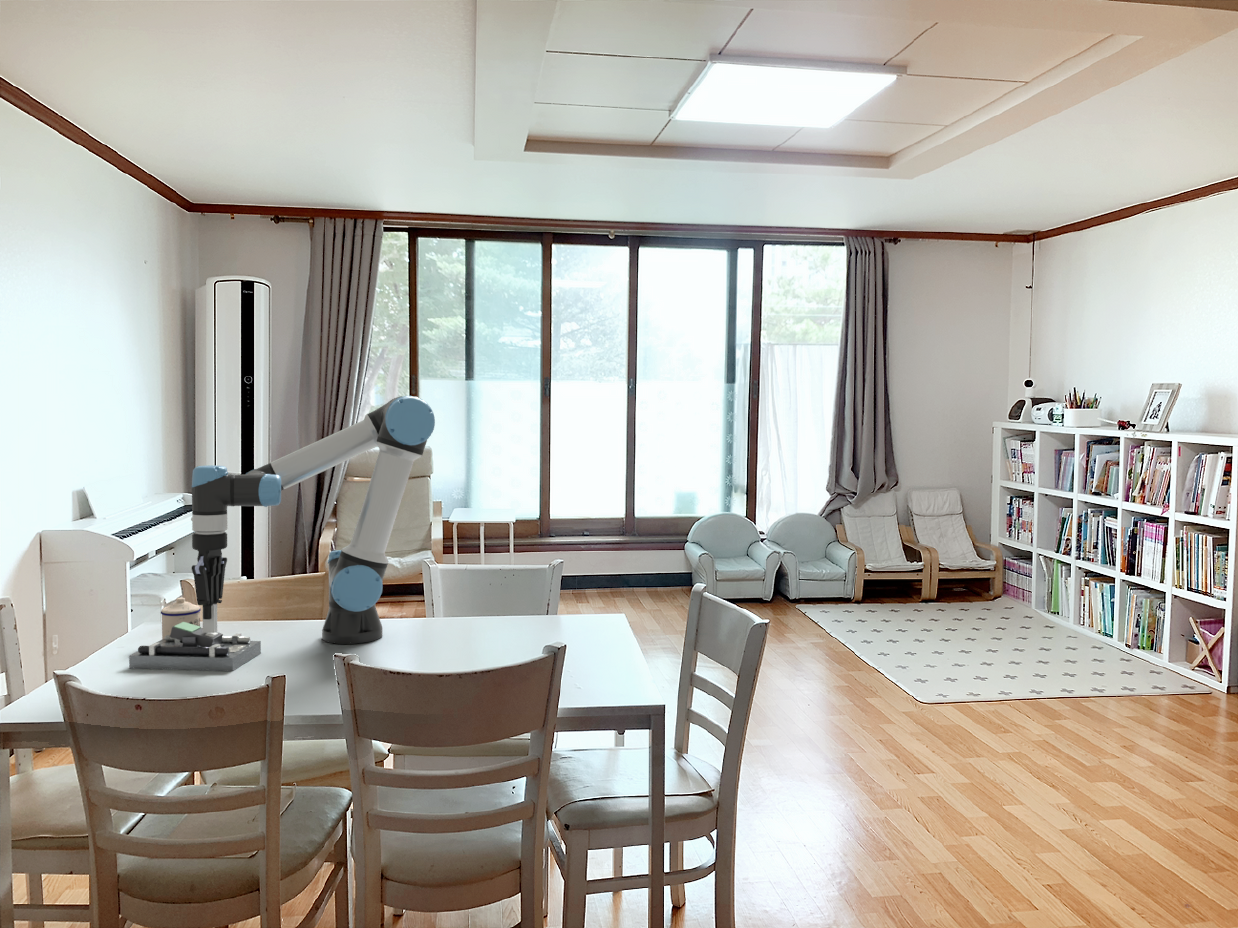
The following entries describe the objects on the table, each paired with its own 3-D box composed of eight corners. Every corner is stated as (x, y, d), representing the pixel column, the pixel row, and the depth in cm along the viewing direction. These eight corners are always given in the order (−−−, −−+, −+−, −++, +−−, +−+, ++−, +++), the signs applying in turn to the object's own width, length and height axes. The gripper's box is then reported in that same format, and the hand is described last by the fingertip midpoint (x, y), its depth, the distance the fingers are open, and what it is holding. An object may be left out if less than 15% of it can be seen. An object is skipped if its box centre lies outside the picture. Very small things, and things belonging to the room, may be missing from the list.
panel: (260, 653, 227) (260, 626, 226) (232, 670, 212) (232, 642, 211) (163, 650, 228) (163, 624, 227) (129, 668, 213) (128, 640, 212)
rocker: (220, 643, 222) (223, 632, 222) (210, 649, 217) (213, 638, 217) (180, 631, 222) (183, 621, 222) (169, 636, 217) (172, 626, 217)
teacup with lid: (189, 649, 229) (188, 602, 229) (153, 648, 230) (152, 601, 229) (213, 637, 241) (213, 592, 241) (179, 636, 242) (178, 591, 241)
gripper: (207, 527, 224) (207, 624, 226) (179, 535, 211) (180, 638, 212) (238, 528, 224) (238, 625, 225) (212, 536, 211) (212, 639, 212)
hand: (210, 631), depth 219 cm, fingers closed
